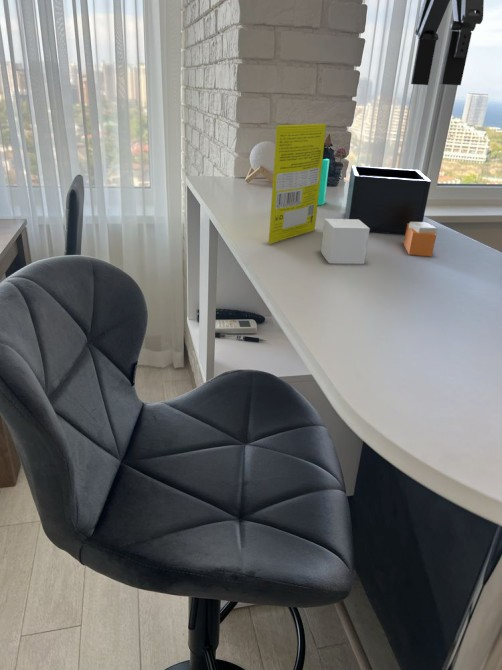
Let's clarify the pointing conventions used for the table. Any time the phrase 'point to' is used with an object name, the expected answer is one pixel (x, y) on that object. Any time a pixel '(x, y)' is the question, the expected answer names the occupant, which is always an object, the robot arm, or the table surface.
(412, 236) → the orange and grey block
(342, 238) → the white cube
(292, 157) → the food package
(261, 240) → the table surface
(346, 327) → the table surface
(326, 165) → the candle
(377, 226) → the black open storage box
